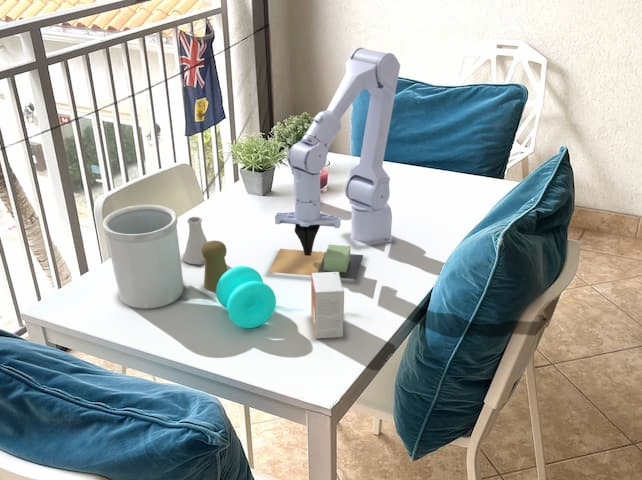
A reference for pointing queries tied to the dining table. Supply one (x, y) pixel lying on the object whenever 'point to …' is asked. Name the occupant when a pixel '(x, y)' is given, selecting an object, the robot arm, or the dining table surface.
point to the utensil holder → (145, 255)
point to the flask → (195, 242)
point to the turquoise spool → (246, 297)
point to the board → (310, 263)
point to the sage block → (337, 258)
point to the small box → (327, 304)
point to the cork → (214, 263)
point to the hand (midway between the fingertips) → (308, 253)
